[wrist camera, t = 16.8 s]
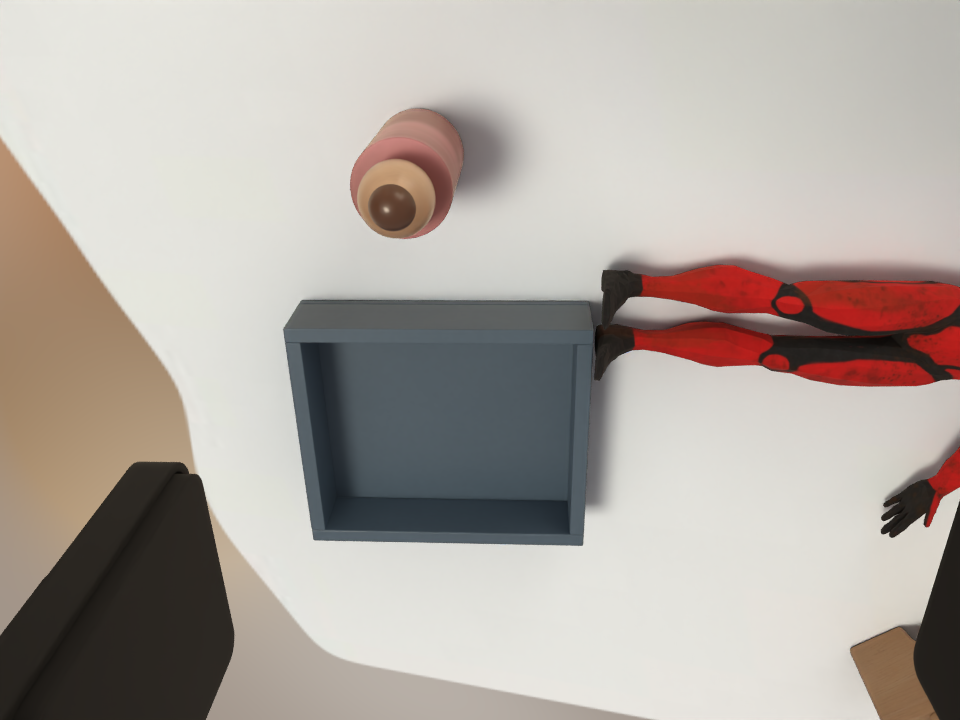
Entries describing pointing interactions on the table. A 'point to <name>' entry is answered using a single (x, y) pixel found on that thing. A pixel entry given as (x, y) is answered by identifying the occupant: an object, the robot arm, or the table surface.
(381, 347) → the tray
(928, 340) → the action figure
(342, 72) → the table surface
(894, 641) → the wooden toy
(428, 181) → the peg doll
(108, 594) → the robot arm
